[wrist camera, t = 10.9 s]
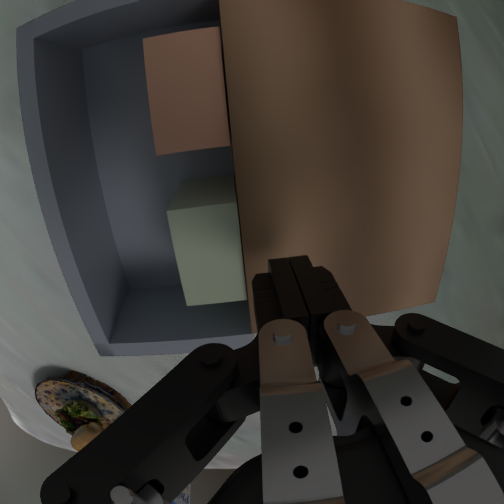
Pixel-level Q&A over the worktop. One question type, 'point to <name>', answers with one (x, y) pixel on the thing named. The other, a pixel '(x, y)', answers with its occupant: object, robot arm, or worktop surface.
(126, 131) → the tray
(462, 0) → the worktop surface
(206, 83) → the tile terracotta
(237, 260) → the tile sage
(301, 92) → the wooden block
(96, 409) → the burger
